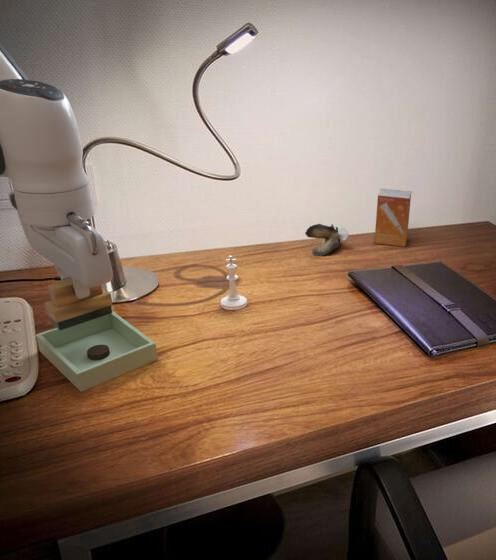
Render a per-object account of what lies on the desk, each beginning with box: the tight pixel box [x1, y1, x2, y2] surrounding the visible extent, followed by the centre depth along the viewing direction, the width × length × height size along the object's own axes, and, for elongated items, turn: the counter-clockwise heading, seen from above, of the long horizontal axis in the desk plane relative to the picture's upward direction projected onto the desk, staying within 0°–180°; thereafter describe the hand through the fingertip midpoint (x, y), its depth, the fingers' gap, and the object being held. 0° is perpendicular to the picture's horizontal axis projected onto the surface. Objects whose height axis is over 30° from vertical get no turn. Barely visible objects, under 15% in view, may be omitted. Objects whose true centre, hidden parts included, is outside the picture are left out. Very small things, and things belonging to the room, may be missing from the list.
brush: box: [43, 278, 114, 330], centre depth 80 cm, size 8×4×6 cm, turn 142°
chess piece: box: [220, 255, 248, 311], centre depth 98 cm, size 5×5×10 cm
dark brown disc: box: [87, 345, 110, 360], centre depth 81 cm, size 3×3×1 cm
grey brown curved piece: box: [304, 223, 349, 256], centre depth 127 cm, size 8×7×9 cm
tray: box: [35, 310, 159, 393], centre depth 81 cm, size 14×11×4 cm
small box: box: [374, 188, 412, 248], centre depth 133 cm, size 8×6×13 cm
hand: (76, 292), depth 79 cm, fingers closed on brush, 2 cm apart
